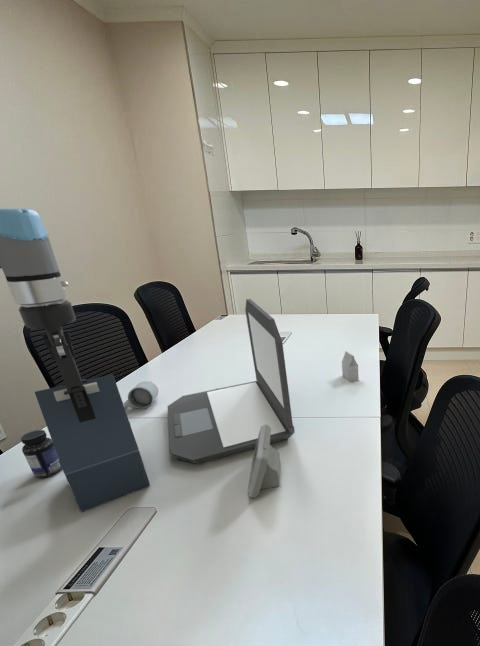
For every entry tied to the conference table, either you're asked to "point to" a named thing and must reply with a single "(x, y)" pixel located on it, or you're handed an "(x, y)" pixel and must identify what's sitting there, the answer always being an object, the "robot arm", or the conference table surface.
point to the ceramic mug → (142, 395)
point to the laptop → (236, 403)
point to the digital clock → (264, 464)
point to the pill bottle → (40, 454)
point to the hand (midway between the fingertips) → (87, 417)
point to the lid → (87, 424)
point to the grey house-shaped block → (349, 367)
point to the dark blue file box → (108, 480)
